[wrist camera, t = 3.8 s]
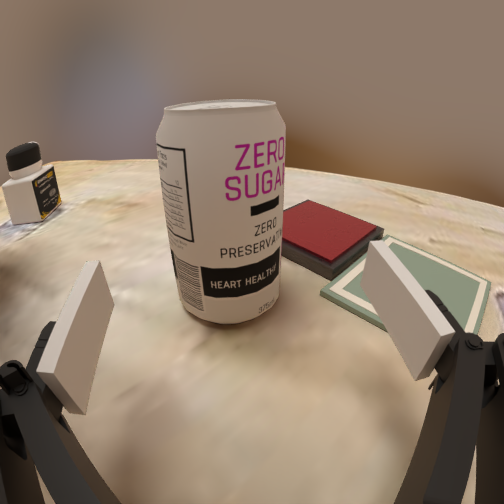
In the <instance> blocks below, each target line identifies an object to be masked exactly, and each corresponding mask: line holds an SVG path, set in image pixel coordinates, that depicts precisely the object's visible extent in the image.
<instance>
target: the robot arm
mask: <svg viewBox="0 0 504 504" xmlns="http://www.w3.org/2000/svg"><path fill="white" fill-rule="evenodd" d="M360 286H361V287H362V289H363V291H364V292H365V294H366V296H367V297H368V299H369V301H370V302H371V304H372V306H373V307H374V309H375V311H376V312H377V314H378V316H379V318H380V319H381V321H382V323H383V324H384V326H385V328H386V330H387V331H388V333H389V335H390V337H391V338H392V340H393V342H394V344H395V346H396V347H397V349H398V351H399V353H400V355H401V356H402V358H403V360H404V362H405V364H406V366H407V367H408V369H409V371H410V373H411V375H412V377H413V379H414V381H417V380H420V379H423V378H426V377H429V376H430V374H431V373H432V371H433V369H434V368H435V369H436V371H437V373H438V374H437V375H436V377H435V378H434V380H433V381H432V383H431V384H430V386H429V388H428V389H429V390H430V389H431V388H432V386H433V389H432V394H431V398H430V402H429V406H428V409H427V413H426V417H425V420H424V424H423V427H422V430H421V433H420V437H419V440H418V443H417V446H416V449H415V452H414V455H413V457H412V460H411V463H410V466H409V468H408V471H407V474H406V476H405V479H404V481H403V484H402V486H401V488H400V491H399V493H398V495H397V498H396V500H395V502H394V504H461V502H462V498H463V495H464V492H465V488H466V485H467V481H468V477H469V473H470V469H471V465H472V460H473V456H474V451H475V446H476V492H475V504H504V333H501V334H500V335H499V336H498V337H497V339H496V340H495V342H483V340H482V339H481V338H480V337H479V336H478V335H476V334H474V333H470V332H467V333H466V332H465V331H464V330H463V328H462V327H461V326H460V324H459V323H458V322H457V320H456V319H455V318H454V316H453V315H452V314H451V312H450V311H448V308H447V307H446V306H445V305H444V303H443V302H442V301H441V299H440V298H439V297H438V296H437V295H436V294H434V293H433V292H432V291H430V290H424V289H423V288H422V287H421V286H420V284H419V283H418V282H417V281H416V279H415V278H414V277H413V276H412V274H411V273H410V272H409V271H408V270H407V268H406V267H405V266H404V265H403V264H402V262H401V261H400V260H399V259H398V258H397V256H396V255H395V254H394V253H393V252H392V251H391V249H390V248H389V247H388V246H387V245H386V244H385V243H384V241H383V240H379V241H370V242H369V247H368V252H367V256H366V261H365V265H364V270H363V274H362V278H361V283H360ZM113 307H114V302H113V299H112V296H111V293H110V290H109V287H108V284H107V281H106V278H105V275H104V272H103V269H102V266H101V263H100V260H99V261H86V263H85V264H84V266H83V268H82V270H81V272H80V274H79V276H78V278H77V280H76V282H75V284H74V286H73V288H72V290H71V292H70V294H69V296H68V298H67V300H66V302H65V304H64V306H63V308H62V310H61V313H60V315H59V317H58V319H57V321H56V322H53V321H50V322H49V323H48V324H47V325H46V326H45V327H44V328H43V330H42V332H41V334H40V336H39V338H38V341H37V343H36V345H35V348H34V350H33V352H32V354H31V357H30V359H29V362H28V364H27V367H26V369H25V368H24V367H23V365H22V364H21V363H20V362H19V361H17V360H11V361H8V362H6V363H4V364H3V365H2V366H1V367H0V387H1V388H2V389H0V504H45V501H44V498H43V495H42V491H41V488H40V484H39V481H38V477H37V473H36V469H35V466H36V468H37V470H38V472H39V474H40V476H41V478H42V480H43V482H44V484H45V485H46V487H47V489H48V491H49V493H50V495H51V496H52V498H53V500H54V502H55V503H56V504H121V503H120V502H119V500H118V499H117V498H116V496H115V495H114V494H113V492H112V491H111V490H110V488H109V487H108V486H107V484H106V483H105V482H104V480H103V479H102V477H101V476H100V475H99V473H98V472H97V470H96V469H95V467H94V466H93V464H92V463H91V461H90V460H89V458H88V457H87V455H86V453H85V452H84V450H83V449H82V447H81V445H80V444H79V442H78V440H77V439H76V437H75V435H74V434H73V432H72V430H71V428H70V427H69V425H68V423H67V421H66V419H65V417H64V416H63V415H62V414H61V412H62V408H63V406H64V407H65V409H66V410H67V411H68V412H69V413H72V414H80V415H86V410H87V406H88V401H89V396H90V392H91V387H92V383H93V379H94V375H95V371H96V367H97V363H98V359H99V355H100V352H101V348H102V344H103V341H104V337H105V334H106V330H107V327H108V324H109V320H110V317H111V314H112V311H113ZM498 379H499V383H500V385H498V381H497V380H498ZM34 464H35V465H34Z"/></svg>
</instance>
